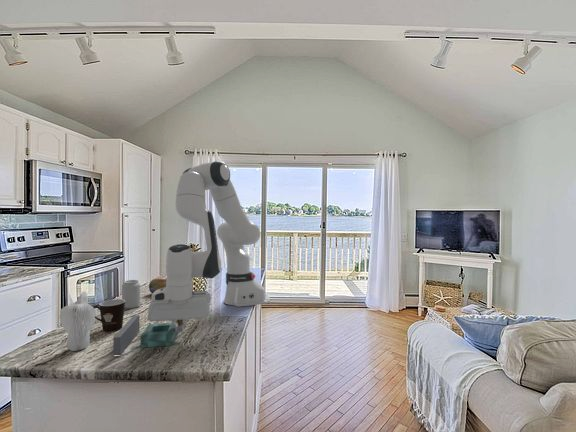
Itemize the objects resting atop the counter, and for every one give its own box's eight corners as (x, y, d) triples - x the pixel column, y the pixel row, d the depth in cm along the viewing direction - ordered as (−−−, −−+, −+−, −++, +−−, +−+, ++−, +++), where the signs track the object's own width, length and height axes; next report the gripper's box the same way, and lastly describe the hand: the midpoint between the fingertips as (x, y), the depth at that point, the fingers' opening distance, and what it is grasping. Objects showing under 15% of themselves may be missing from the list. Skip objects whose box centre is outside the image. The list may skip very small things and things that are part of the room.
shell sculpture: (71, 357, 95) (70, 298, 95) (58, 350, 99) (57, 294, 99) (99, 346, 102) (98, 292, 102) (86, 341, 106) (85, 289, 106)
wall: (139, 330, 115) (139, 314, 115) (120, 356, 96) (120, 337, 95) (133, 331, 115) (133, 315, 115) (113, 356, 95) (113, 337, 95)
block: (178, 333, 113) (177, 322, 113) (172, 345, 103) (172, 333, 103) (148, 335, 111) (148, 324, 111) (140, 347, 101) (140, 335, 101)
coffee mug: (130, 325, 120) (130, 300, 120) (111, 334, 112) (111, 307, 112) (108, 322, 124) (107, 297, 124) (87, 330, 116) (87, 303, 116)
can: (143, 304, 147) (143, 279, 147) (134, 309, 139) (133, 283, 139) (128, 304, 148) (128, 278, 147) (118, 309, 140) (118, 282, 140)
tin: (148, 294, 164) (148, 278, 164) (152, 292, 167) (152, 277, 167) (174, 296, 161) (173, 280, 161) (177, 294, 164) (177, 278, 164)
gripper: (210, 288, 113) (211, 326, 113) (151, 291, 109) (151, 330, 109) (209, 293, 107) (210, 332, 107) (146, 296, 103) (146, 337, 103)
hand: (179, 331), depth 108 cm, fingers closed
